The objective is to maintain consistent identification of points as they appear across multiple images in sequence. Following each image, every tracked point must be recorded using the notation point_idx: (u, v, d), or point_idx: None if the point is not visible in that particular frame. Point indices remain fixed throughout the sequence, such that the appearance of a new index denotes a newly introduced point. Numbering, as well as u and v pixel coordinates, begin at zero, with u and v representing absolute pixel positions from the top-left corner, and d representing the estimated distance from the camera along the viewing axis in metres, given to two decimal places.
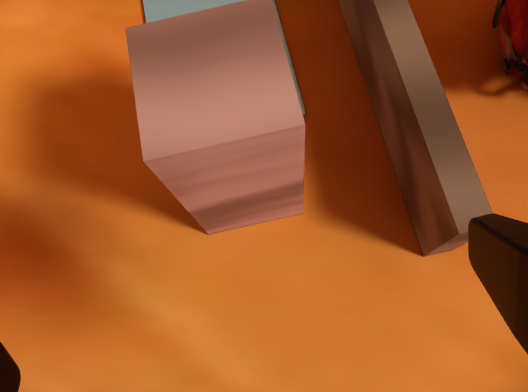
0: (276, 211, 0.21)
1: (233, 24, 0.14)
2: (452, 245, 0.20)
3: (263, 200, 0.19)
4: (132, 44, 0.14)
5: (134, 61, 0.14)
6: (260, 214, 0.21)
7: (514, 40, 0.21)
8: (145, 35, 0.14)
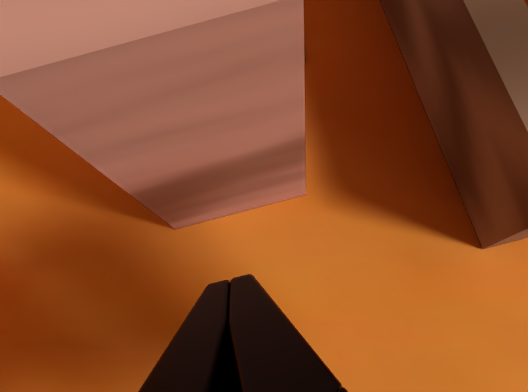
0: (267, 191, 0.15)
1: None
2: None
3: (245, 173, 0.13)
4: None
5: None
6: (244, 196, 0.14)
7: None
8: None
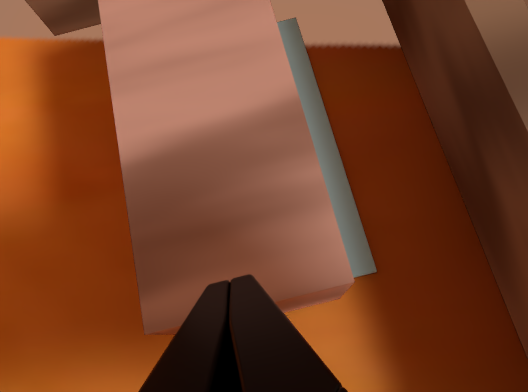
0: (283, 234, 0.10)
1: None
2: None
3: (244, 161, 0.11)
4: None
5: None
6: (249, 239, 0.10)
7: None
8: None
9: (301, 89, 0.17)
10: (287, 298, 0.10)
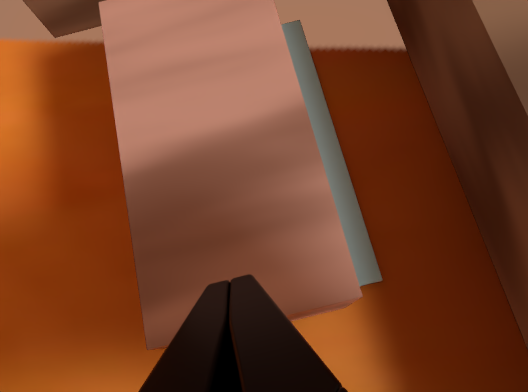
0: (289, 246, 0.10)
1: None
2: None
3: (249, 171, 0.11)
4: None
5: None
6: (255, 252, 0.10)
7: None
8: None
9: (305, 93, 0.17)
10: (293, 313, 0.10)
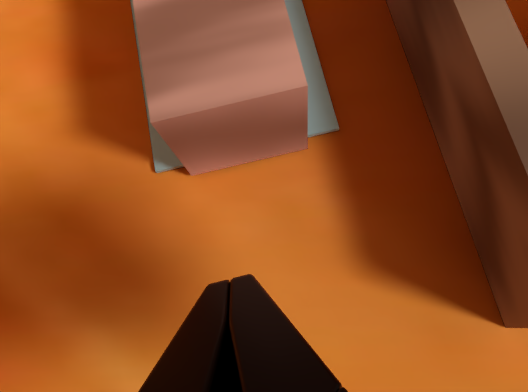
0: (256, 55, 0.14)
1: None
2: None
3: (229, 5, 0.14)
4: None
5: None
6: (231, 58, 0.14)
7: None
8: None
9: None
10: (257, 98, 0.13)
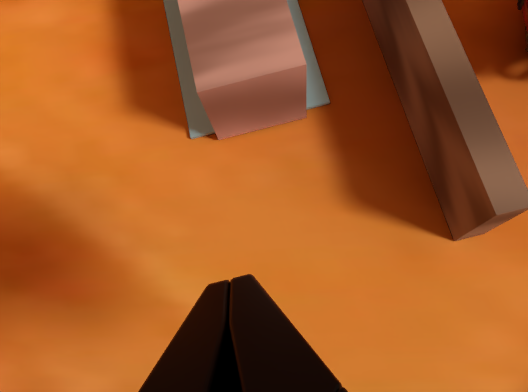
0: (269, 44, 0.20)
1: None
2: (485, 228, 0.20)
3: (249, 10, 0.20)
4: None
5: None
6: (252, 47, 0.20)
7: None
8: None
9: None
10: (271, 74, 0.19)
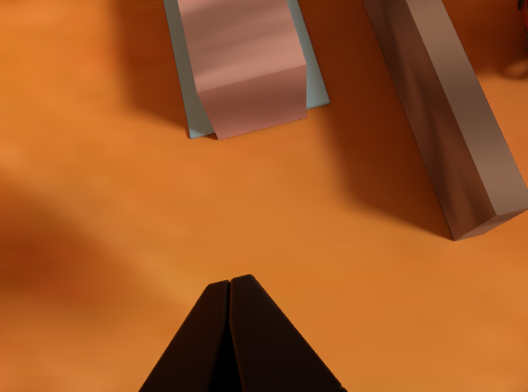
0: (269, 44, 0.20)
1: None
2: (485, 228, 0.20)
3: (249, 10, 0.20)
4: None
5: None
6: (252, 47, 0.20)
7: None
8: None
9: None
10: (271, 74, 0.19)
